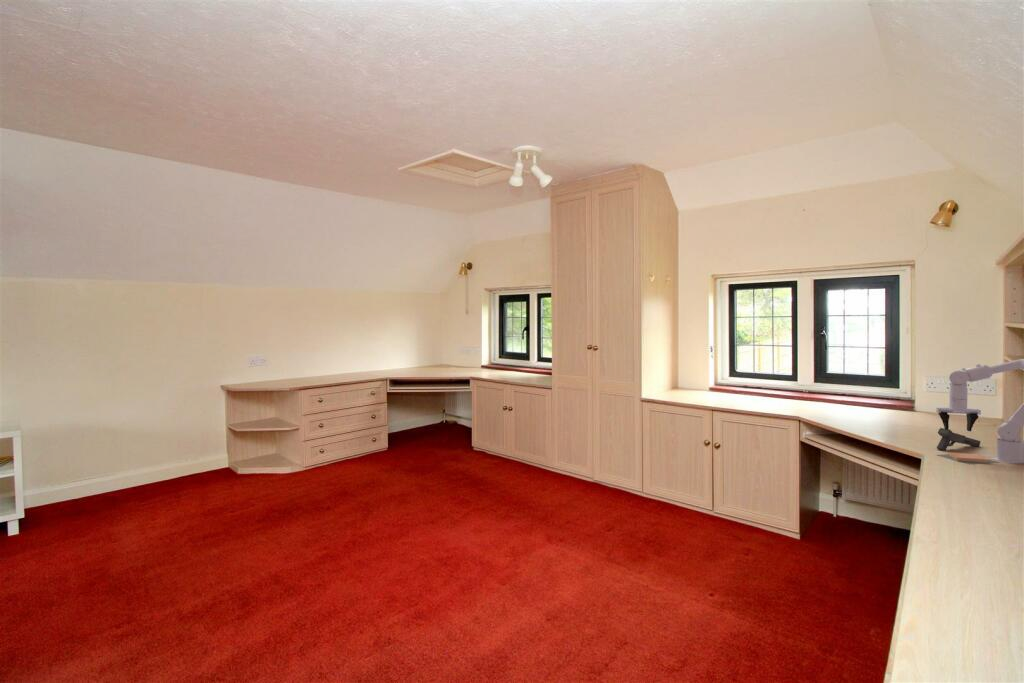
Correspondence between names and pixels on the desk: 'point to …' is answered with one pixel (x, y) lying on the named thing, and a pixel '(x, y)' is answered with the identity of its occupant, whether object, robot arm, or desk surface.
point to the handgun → (954, 439)
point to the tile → (968, 457)
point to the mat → (966, 462)
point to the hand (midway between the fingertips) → (957, 430)
